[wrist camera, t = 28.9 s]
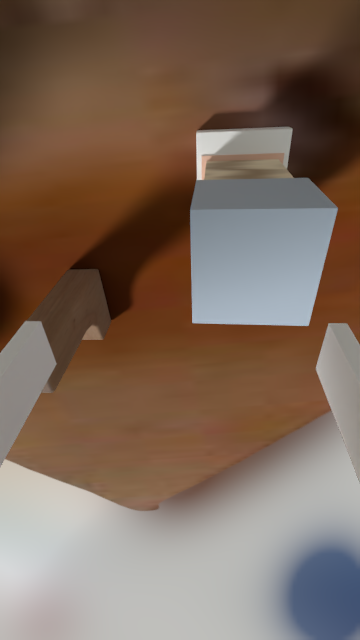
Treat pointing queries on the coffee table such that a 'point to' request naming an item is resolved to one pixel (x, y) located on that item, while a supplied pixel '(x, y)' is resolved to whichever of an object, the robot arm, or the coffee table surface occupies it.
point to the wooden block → (72, 317)
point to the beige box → (246, 169)
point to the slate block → (258, 250)
